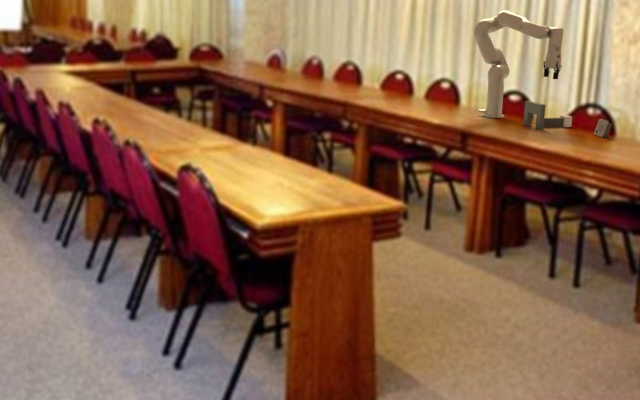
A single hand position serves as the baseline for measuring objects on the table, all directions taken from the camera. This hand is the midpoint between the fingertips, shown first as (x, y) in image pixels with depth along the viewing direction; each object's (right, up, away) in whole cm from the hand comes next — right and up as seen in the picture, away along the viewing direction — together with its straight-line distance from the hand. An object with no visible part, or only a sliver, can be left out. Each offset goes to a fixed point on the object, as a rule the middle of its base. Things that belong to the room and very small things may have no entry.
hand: (550, 77), depth 512 cm
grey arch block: (-13, -30, -13) cm, 35 cm away
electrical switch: (+19, -37, -35) cm, 54 cm away
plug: (+1, -29, -8) cm, 30 cm away
